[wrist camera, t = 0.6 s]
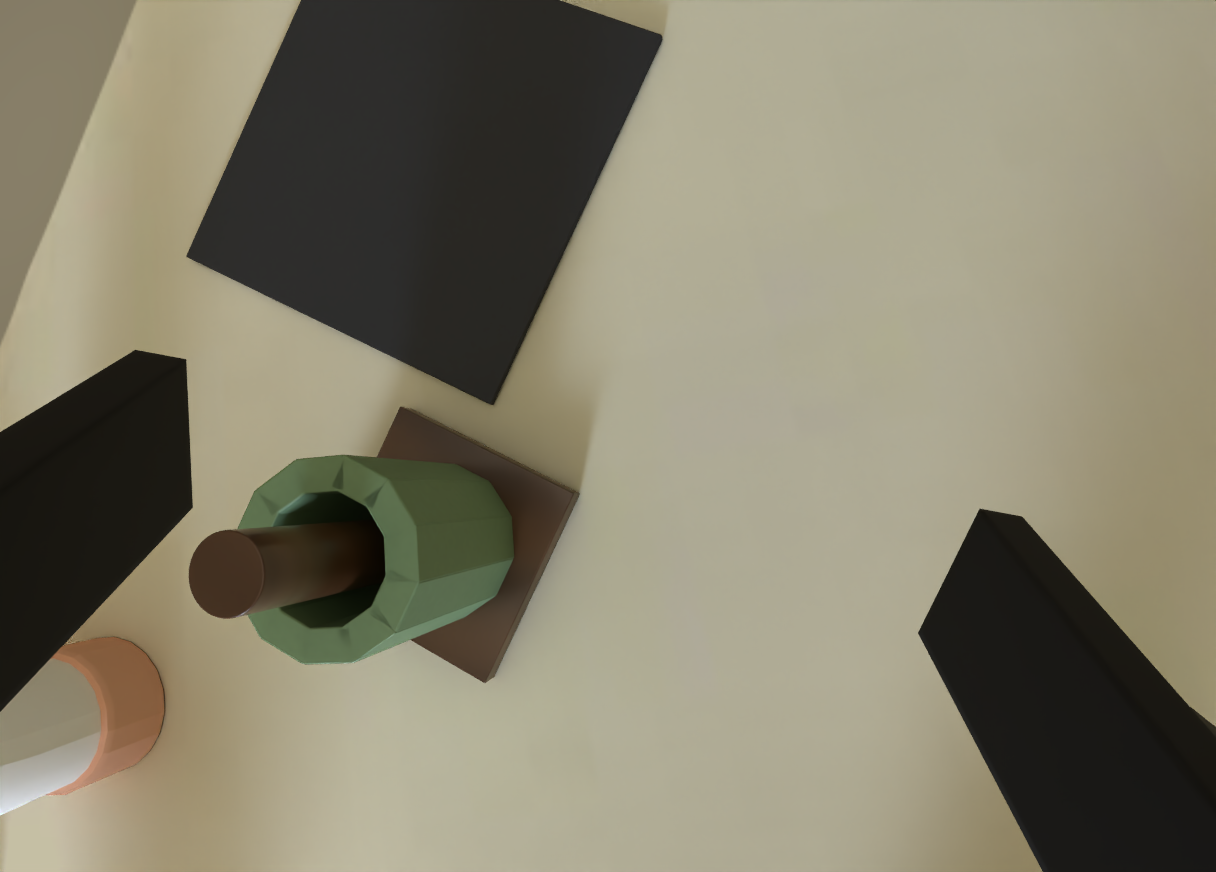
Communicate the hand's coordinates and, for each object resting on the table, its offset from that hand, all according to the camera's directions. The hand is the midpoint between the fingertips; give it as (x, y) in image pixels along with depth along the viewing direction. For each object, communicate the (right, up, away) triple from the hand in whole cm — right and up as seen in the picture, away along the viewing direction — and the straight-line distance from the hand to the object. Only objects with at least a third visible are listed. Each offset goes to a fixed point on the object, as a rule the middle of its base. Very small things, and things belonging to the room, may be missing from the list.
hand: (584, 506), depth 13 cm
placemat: (-10, +16, +28) cm, 33 cm away
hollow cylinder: (-8, -4, +24) cm, 26 cm away
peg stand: (-7, -4, +26) cm, 27 cm away
